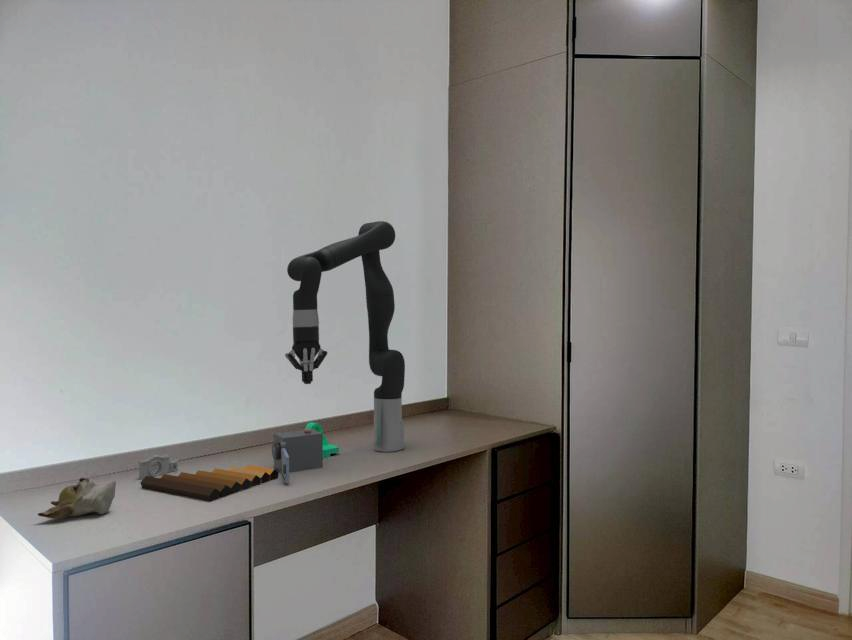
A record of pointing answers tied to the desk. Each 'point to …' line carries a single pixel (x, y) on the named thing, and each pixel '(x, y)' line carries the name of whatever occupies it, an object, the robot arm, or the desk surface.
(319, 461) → the housing
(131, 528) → the desk surface
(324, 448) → the camera mount
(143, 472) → the grey ringed bracket
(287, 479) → the door
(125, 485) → the desk surface
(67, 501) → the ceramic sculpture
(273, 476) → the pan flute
